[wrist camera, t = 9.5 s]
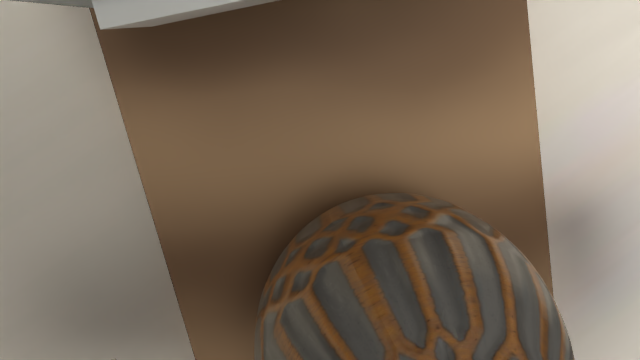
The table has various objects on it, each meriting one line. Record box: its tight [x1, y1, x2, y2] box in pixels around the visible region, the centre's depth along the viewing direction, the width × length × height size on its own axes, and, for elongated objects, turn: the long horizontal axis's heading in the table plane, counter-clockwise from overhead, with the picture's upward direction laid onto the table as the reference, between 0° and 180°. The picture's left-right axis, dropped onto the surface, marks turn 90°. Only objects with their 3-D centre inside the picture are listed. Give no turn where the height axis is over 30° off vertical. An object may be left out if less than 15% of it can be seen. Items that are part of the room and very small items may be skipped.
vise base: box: [89, 0, 553, 360], centre depth 14 cm, size 22×11×8 cm, turn 11°
